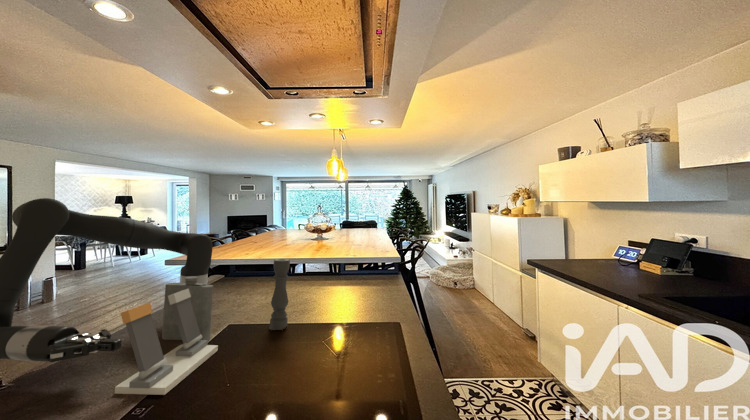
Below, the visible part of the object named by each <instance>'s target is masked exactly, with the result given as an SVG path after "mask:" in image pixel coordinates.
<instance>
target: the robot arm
mask: <svg viewBox="0 0 750 420" xmlns="http://www.w3.org/2000/svg"><path fill="white" fill-rule="evenodd" d="M11 220H12V222H13V224H14V226H16V229H15V232H14V235H13V237H12V239H11V241H10V242H9V244H8V246H7V248H6V249H5V251H4V253H3V254H1V257H0V360H17V361H21V362H22V361H23V362H25V361H26V362H46V363H47V362H49V363H56V362H60V361H66V360H72V359H76V358H81V357H86V356H89V355H90V354H91V353H93V354H95V353H98V352H116V351H118V350H120V349H121V348H122V340H121V339H119V338H111V337H112V333H111V332H109V330H108V329H106V328H103V329H101V330H99V332H98V333H91V332H80V331H79V330H78V329H77V328H75V327H74V326H69V325H68V326H66V325H65V326H64V325H63V326H62V325H35V326H26V325H25V326H24V325H23V326H22V325H15V326H14V325H12V324H13V319H14V312H15V308H16V305H17V303H18V301H19V299H20V297H21V296H22V293H23V292H24V289H25V288H26V286H27V284H28V281H29V280H30V277H31V276H32V274H33V272H34V271H35V268H36V267H37V264H38V262H39V260H40V259H41V257H42V255H43V254H44V252H45V250H46V249H47V247H48V246H49V245H50V243H51V242H52V241H53V239H54V238H55V237H56V236H67V237H75V238H83V239H87V240H91V241H96V242H99V243H104V244H109V245H114V246H120V247H127V248H134V249H140V250H141V249H142V250H143V249H144V250H145V249H146V250H164V251H169V252H173V253H178V254H181V255H184V256H186V261H185V265H183V266H182V267H181V269H180V276H179V283H186V280H185V277H192V276H196V277H198V280H196V281H197V283H203V284H207V285H208V278H209V277H208V275H209V269H210V267H211V263H212V255H213V240H212V238H211V237H209V235H208V234H207V235H206V234H203V233H197V232H196V233H193V232H192V233H191V232H190V233H189V232H182V231H181V232H180V231H173V230H170V229H169V230H168V229H166V228H164V227H161V226H158V225H155V224H153V223H150V222H146V221H142V220H138V219H133V218H128V217H122V216H113V215H98V214H97V215H96V214H89V213H83V212H78V211H76V210H71V209H68V207H67V206H66V204H65V203H63V202H61V201H60V200H57V199H54V198H46V197H42V198H36V199H35V198H34V199H31V200H28V201H27V202H24V203H22V204H19V206H17V207H16V208H15V209H14V210H13V212H12V214H11Z"/></svg>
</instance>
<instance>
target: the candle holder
mask: <svg viewBox="0 0 750 420" xmlns="http://www.w3.org/2000/svg"><path fill="white" fill-rule="evenodd" d="M290 261H291V260H290V259H288V258H276V259H273V270H274V274H275V275H273V280H274V282H275V283H274V284H275V285H274V289H273V295H272V297H271V301H270V304H271V307H272V310H273V311H272V313H271V315H270V319H269V330H270V329H281V328H284V327H286V326H287V327H288V322H289V321H288V320H289V319H288V314H287V312H286V308H287V307H288V304H289V298H288V292H287V291H288V290H287V279H289V275H288V272H289V269H290V266H291V265H290V263H291V262H290Z"/></svg>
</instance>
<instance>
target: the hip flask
mask: <svg viewBox="0 0 750 420" xmlns="http://www.w3.org/2000/svg"><path fill="white" fill-rule="evenodd" d="M185 280H186V283H180V282H169V283H165V286H164V287H165V289H164V301H163V303H164V304H163V317H162V332H161V339H162V340H164V341H167V340H170V341H171V340H173V341H174V340H176V341H182V338H181V334H180V331H179V327H178V324H177V320H176V317H175V313H174V310H173V307H172V304H171V305H170V302H169V299H168V296H169V295H171V294H174V293H177V292H180V291H183V290H186V289H189V292H190V295H191V297H190V300H191V304H192V307H193V310H194V314H195V317H196V321H197V324H198V328H199V331H200V334H201V335H202V339H200V340H208V342H210V340H211V328H212V316H213V315H212V313H213V311H212V310H213V298H214V297H213V296H214V285H213V284H208V283H207V284H203V283H197V281H196V280H198V277H196V276H192V277H185Z"/></svg>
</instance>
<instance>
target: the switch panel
mask: <svg viewBox="0 0 750 420" xmlns="http://www.w3.org/2000/svg"><path fill="white" fill-rule="evenodd" d="M218 349H219V345H215V344H209V341H208V340H199V341H197V342H196V343H195V344H193V345H192V346H190V347H189V348H187V349H184V348H183V343H182V344H180V345H178V346H177V347H174V348H172V350H170V351H169V352H167V353H165V354H163V356H164V358H165V359H166V363H165V364H164V365H162V366H161V367H160V368H158V369H157V370H155V371H154V372H152V373H151V374H149V375H148V376H146V377H145V378H143V379H141V378H139V371H138V372H136V373H134V374H133V375H131V376H130V377H128V378H126V379H125V380H124V381H121V382H120V383H119V384H117V385H115V388H114V394H115V395H116V394H117V395H119V394H120V395H122V394H123V395H151V396H152V395H155V396H156V395H160V396H161V395H162V396H165V395H166V394H167V393H169V392H170V391H171V390H172V389H173V388H175V387H176V386H177V385H178V384H179V383H181V382H182V381H183V380H184V379H185V378H187V377H189V375H191V374H192V373H193V372H194V371H195V370H196V369H197V368H199V366H201V365H202V364H204V362H206V361H207V360H208V359H210V358H212V356H213V355H214V354H215V353H217V352H218Z"/></svg>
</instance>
